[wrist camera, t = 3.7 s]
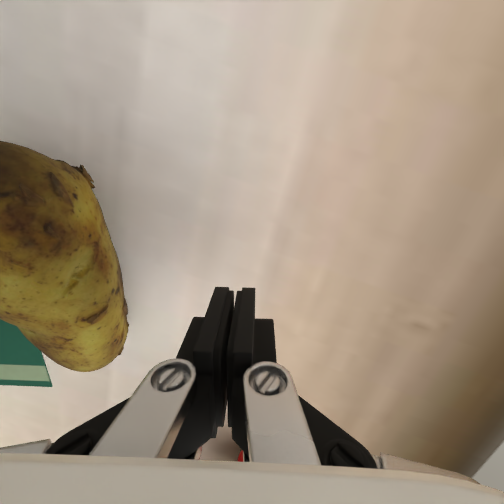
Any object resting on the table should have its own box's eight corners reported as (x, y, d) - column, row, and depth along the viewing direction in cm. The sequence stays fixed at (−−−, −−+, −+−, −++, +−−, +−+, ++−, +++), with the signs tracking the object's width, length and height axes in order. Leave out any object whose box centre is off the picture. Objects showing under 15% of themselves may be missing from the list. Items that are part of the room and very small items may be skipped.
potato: (23, 308, 19) (-130, 407, 12) (41, 126, 15) (-183, 97, 7) (135, 345, 20) (59, 459, 12) (182, 182, 16) (110, 208, 8)
